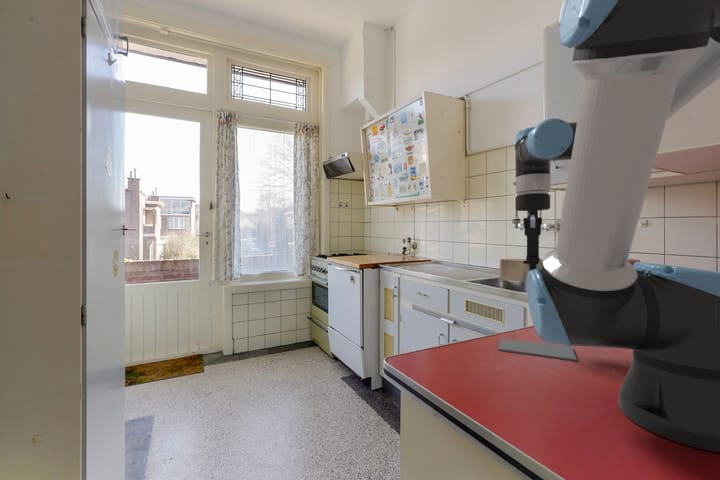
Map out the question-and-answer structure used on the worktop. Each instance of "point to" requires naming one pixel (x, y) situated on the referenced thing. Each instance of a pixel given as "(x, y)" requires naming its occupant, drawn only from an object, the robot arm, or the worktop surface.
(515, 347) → the mat
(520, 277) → the block
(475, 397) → the worktop surface
